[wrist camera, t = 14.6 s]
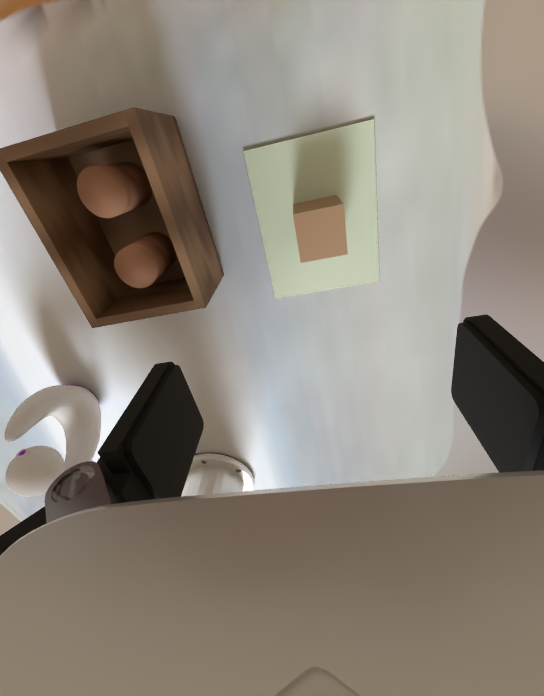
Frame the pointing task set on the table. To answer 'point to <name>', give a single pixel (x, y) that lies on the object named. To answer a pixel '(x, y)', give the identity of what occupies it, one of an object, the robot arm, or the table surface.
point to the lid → (318, 209)
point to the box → (118, 215)
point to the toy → (45, 462)
